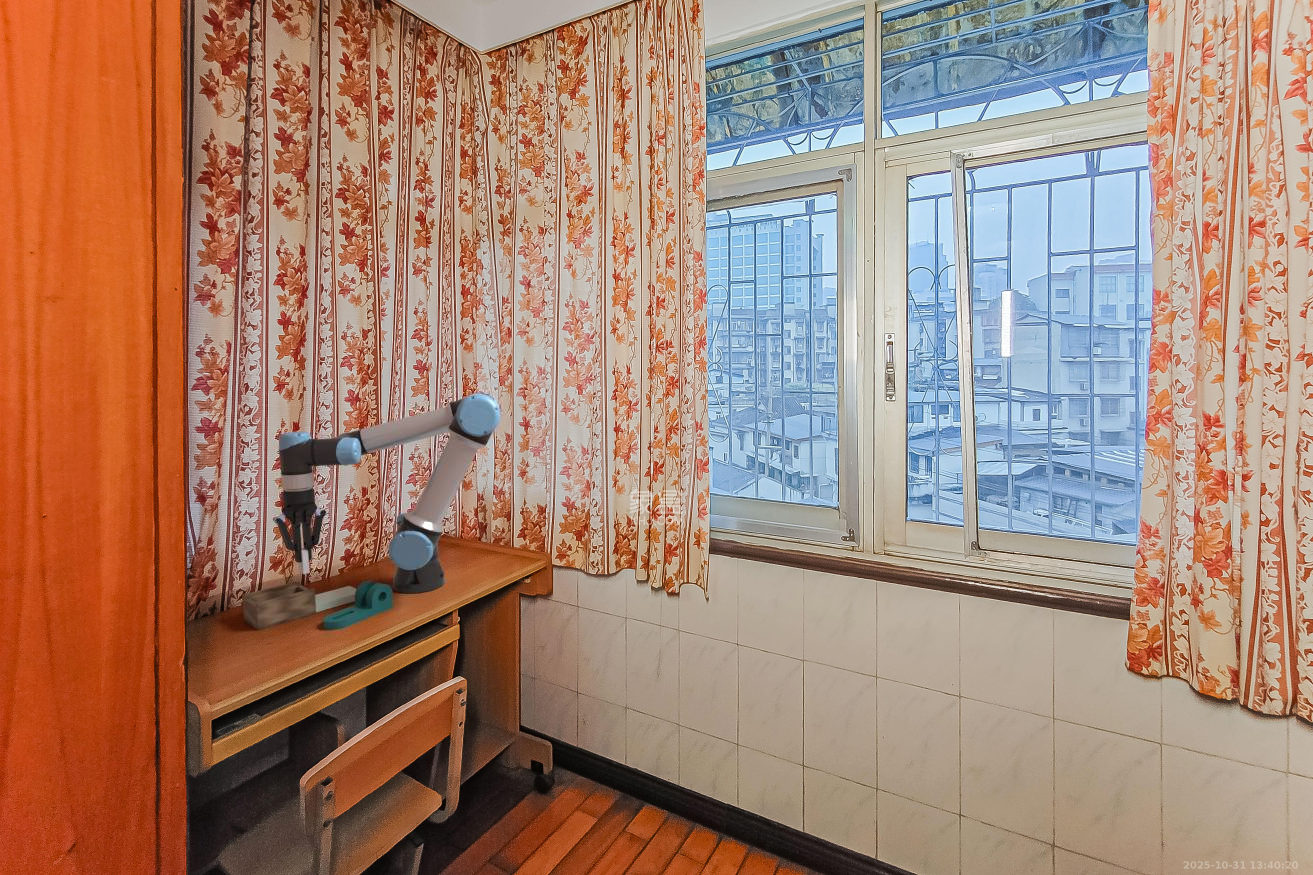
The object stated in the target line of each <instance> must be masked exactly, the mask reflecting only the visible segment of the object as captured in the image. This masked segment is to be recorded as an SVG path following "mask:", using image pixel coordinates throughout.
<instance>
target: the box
mask: <svg viewBox="0 0 1313 875" xmlns="http://www.w3.org/2000/svg"><path fill="white" fill-rule="evenodd" d="M315 595H316V588H308V587H306V586H304V585H301V581H300V580H298V581H294V582H290V583H289V582H288V583H285V584H281V585H278V586H273V587H268V588H265V589H261V590H260V589H259V590H257V591H253V592H248V593H244V594H242V595H241V598H242V612H243V613H242V615H243V621H244V622H245V623H247V624H248V625H249V626H251V627H253V628H254V629H255V630H257V631H260V630H264V629H267V628H271V627H274V626H278V625H281V624H285V623H288V622H292V621H295V620H299V619H302V618H306V617H308V616H309V617H310V616H312V615H316V614H317V612H316V599H315Z"/></svg>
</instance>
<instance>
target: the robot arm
mask: <svg viewBox="0 0 1313 875" xmlns="http://www.w3.org/2000/svg"><path fill="white" fill-rule="evenodd" d="M500 420H501V408H500V405H499V404H498V402H497V401H496V400H495V399H494V398H493V397H492V396H491V395H489V394H488V393H484V392H474V393H471V394H469V395H467V396H465V397H463V398H461V399H460V398H459V399H458V400H455V401H450V402H448V403H447V405H446V406H445V407H441V408H438V409H434V410H429V411H426V412H421V413H418V414H413V415H411V416H406V417H403V418H400V419H395V420H392V421H387V422H384V423H383V422H382V423H381V424H377V425H373V426H367V427H364V428H361V429H358V430H354V431H351V432H344V433H340V434H339V435H337V436H335V437H331V438H329V437H328V438H312V436H311V433H310V432H308V431H288V432H283V433H281V434H279V436H278V451H277V452H278V457H279V467H280V477H281V478H280V480H281V489H282V493H281V494H282V495H281V496H282V505H283V507H282V510H281V513H280V514H279V515H278V516H274V517H273V518H272V521H273V522H274V523H275V524H276V525H277V527H278V530H279V532H280V533H279V534H280V535H281V538H282V540H283V543H284V546H285V549H287V550H289V551H290V552H291V551H293V552H294V561H295V563H298V568H299V570H298V571H299V573H300V574H303V575H306V574H310V573H311V572H310V564H309V563H310V561H312V558H313V554H312V552H313V551H312V550H313V548H314V547H315V546H318V545H319V544H320V536H321V532H322V525H323V521H324V518H325V516H326V514H327V511H326V510H325V509H322V508H319V507H318V505H317V504H316V497H315V496H316V495H315V489H314V488H313V487H314V486H315V481H314V469H313V468H314V467H325V466H326V467H329V466H331V467H332V466H344V467H345V466H350V465H357V464H359V463H360V462H361V457H362V456H366V455H368V454H371V453H375V452H379V451H382V450H383V451H384V450H386V449H389V448H393V447H398V446H401V445H404V444H408V443H412V442H416V441H419V440H424V439H427V438H431V437H435V436H438V435H442V434H445V433H449V438H448V440H447V442H446V445H445V446H444V448H443V449H442V450H443V451H442V452H441V454H440V456H439V458H438V461H437V462H436V464H435V466H434V468H433V470H432V471H431V474H430V476H429V477H428V480H427V482H426V484H425V486H424V488H423V490H422V492H421V494H420V496H419V498H418V500H417V502H416V504H415V505H414V507H413V510H412V511H409V512H403V513H400V514H398V515H397V516H396V522H395V525H396V531H395V533H394V536H393V537H392V538H391V540H390V541H389V543H388V556H389V559H390V560H391V561H392V563H393V564H394V565H395V566H396V569H395V571H394V576H393V578H392V579H393V580H392V590H394V591H395V592H398V593H401V594H402V593H403V594H419V593H424V592H425V593H426V592H431V591H434V590H436V589H439V588H441V587H442V586H444V584H445V583H446V581H445V580H446V576H445V572H444V570H443V568H442V564H441V562H440V560H439V544H438V543H439V540H440V538H441V537H442V535H443V533H444V529H445V528H444V525H443V520H444V519H445V516H446V514H447V513H448V511H449V508H450V506H451V504H452V502H453V500H454V498H455V496H456V495H457V493H458V490H459V488H460V486H461V485H462V482H463V480H464V479H465V476H466V475H467V472H469V471H468V470H469V468H470V466H471V465H472V462H473V461H474V459H475V456H476V454H477V452H478V451H479V449H482V448H484V447H486V446H487V444H488V442H489V441H490V439H491V437H492V435H493V432H494V431H495V429H497V427H498V425H499V424H500ZM313 516H314V520H313V524H312V521H311V519H312V517H313ZM286 519H287V520H288V521H289V522H290V526H291V534H292V535H290V532H289V528H288V526H287V524H286V523H285V522H286ZM311 524H312V529H311ZM311 530H312V531H311ZM301 531H302V533H301ZM301 535H302V536H301ZM291 536H292V537H291ZM302 543H303V544H302ZM302 545H303V547H302Z"/></svg>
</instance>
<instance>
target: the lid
mask: <svg viewBox="0 0 1313 875" xmlns="http://www.w3.org/2000/svg"><path fill="white" fill-rule="evenodd" d="M356 589H357V588H355V587H353V586H351V585H347V586H344V587H340V588H336V589H332V590H328V591H325V592H321V593H317V594H315V599H316V613H319V612H323V611H325V610H328V609H332V608H335V607H336V608H337V607H338V606H339V607H340V606H342V605H346V604H350V603H353V602H354V603H355V592H356Z"/></svg>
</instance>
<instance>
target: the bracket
mask: <svg viewBox="0 0 1313 875" xmlns="http://www.w3.org/2000/svg"><path fill="white" fill-rule="evenodd" d="M355 589H356V592H355V601H354V604H353V605H351V606H349V607H346V608H343V609H341V610H338V611H336V612H333V613H330V614H328V615H326V616H325V617H323V619H322V622H323V628H324V629H325V630H328V631H336V630H337V631H338V630H340V629H341V630H342V629H345V628H348V627H350V626H352V625H355V624H358V623H359V622H363V621H364V620H367V619H369V618H371V617H374V616H376V615H378V614H381V613H383V612H385V611H388V610H390V609H393V608H394V601H393V600H394V598H393V594H394V593H393V588H392V587H391V585H389V584H385V583H381V582H376V581H373V580H372V581H371V580H364V581H362V582H361V583H360V584H359V585H358V586H357V588H355Z"/></svg>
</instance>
